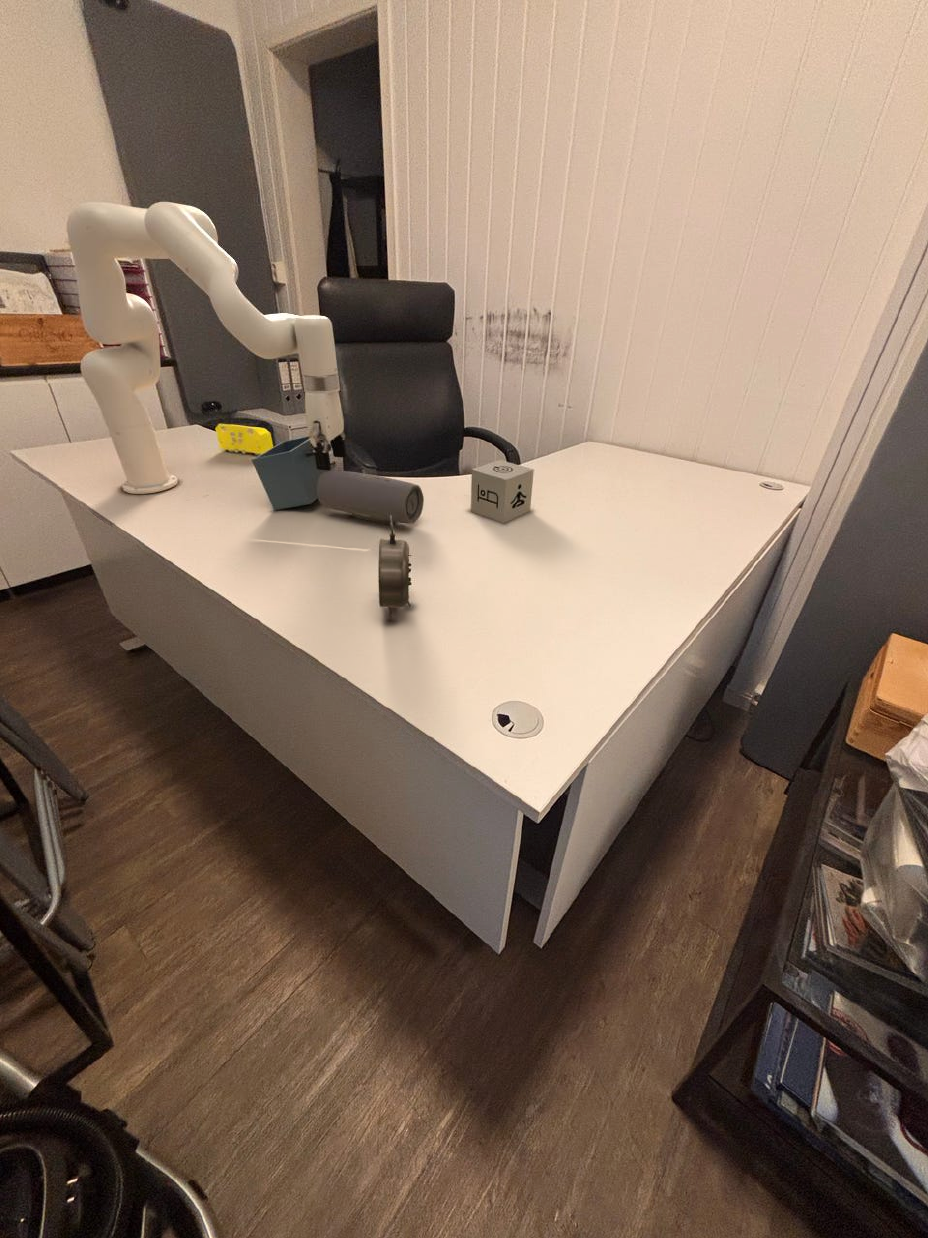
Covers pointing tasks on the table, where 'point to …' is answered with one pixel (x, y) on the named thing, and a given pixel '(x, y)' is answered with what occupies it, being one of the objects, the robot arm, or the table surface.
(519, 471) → the icon cube
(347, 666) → the table surface
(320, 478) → the bluetooth speaker
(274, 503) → the blue-grey square box
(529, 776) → the table surface
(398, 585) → the alarm clock
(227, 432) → the yellow toy chassis
